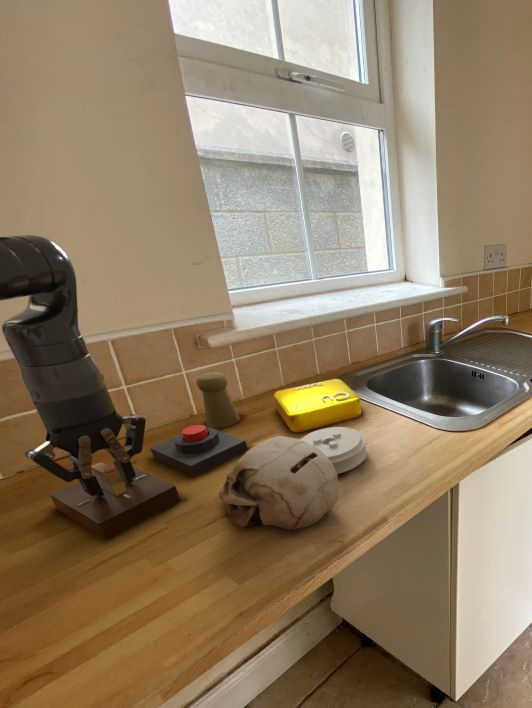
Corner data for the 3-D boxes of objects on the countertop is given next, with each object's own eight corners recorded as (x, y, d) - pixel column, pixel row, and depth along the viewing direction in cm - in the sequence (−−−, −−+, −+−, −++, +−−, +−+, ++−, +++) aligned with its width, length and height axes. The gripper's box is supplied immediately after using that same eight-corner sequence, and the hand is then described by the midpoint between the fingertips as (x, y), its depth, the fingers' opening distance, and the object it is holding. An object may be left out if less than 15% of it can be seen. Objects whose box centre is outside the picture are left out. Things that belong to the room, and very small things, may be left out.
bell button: (180, 439, 83) (177, 431, 82) (200, 431, 86) (198, 423, 85) (192, 444, 81) (189, 436, 81) (212, 435, 84) (210, 427, 84)
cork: (199, 424, 95) (184, 377, 90) (225, 412, 100) (212, 367, 95) (221, 430, 93) (206, 382, 88) (246, 417, 98) (234, 371, 94)
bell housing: (153, 458, 83) (146, 439, 81) (208, 434, 91) (203, 417, 90) (194, 476, 79) (187, 457, 77) (248, 449, 87) (243, 432, 85)
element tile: (341, 393, 112) (338, 375, 110) (364, 415, 102) (362, 396, 99) (275, 408, 103) (271, 389, 101) (293, 435, 93) (288, 414, 91)
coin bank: (233, 488, 76) (222, 420, 70) (343, 482, 82) (341, 419, 76) (203, 558, 63) (186, 480, 57) (337, 545, 68) (334, 474, 63)
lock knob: (100, 487, 70) (89, 465, 68) (110, 483, 71) (100, 460, 70) (116, 496, 68) (106, 473, 67) (127, 491, 70) (117, 468, 68)
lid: (287, 457, 85) (281, 434, 83) (352, 437, 93) (349, 415, 91) (308, 489, 77) (303, 465, 75) (378, 464, 85) (376, 441, 82)
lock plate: (57, 509, 70) (48, 493, 68) (131, 476, 78) (125, 461, 77) (106, 539, 65) (98, 522, 63) (181, 500, 73) (175, 484, 71)
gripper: (113, 367, 70) (150, 460, 77) (-17, 401, 58) (41, 506, 65) (141, 376, 67) (176, 472, 74) (11, 414, 55) (67, 523, 63)
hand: (112, 487), depth 70 cm, fingers open, 3 cm apart
